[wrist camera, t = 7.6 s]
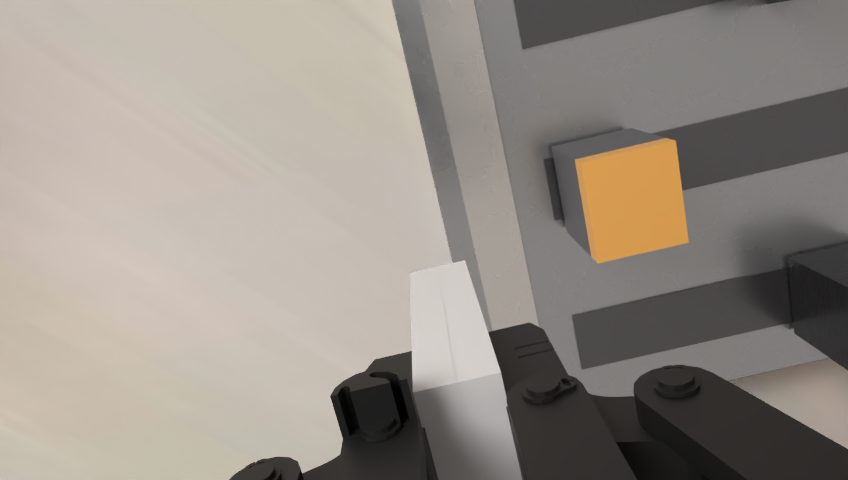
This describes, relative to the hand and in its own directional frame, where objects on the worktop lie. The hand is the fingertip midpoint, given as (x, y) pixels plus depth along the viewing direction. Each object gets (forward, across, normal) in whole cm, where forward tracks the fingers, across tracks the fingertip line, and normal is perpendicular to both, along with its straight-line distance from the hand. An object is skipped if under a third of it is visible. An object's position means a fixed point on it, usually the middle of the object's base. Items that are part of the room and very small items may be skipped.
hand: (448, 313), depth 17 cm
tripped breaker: (+10, +7, 0) cm, 12 cm away
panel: (+12, +12, 0) cm, 17 cm away
